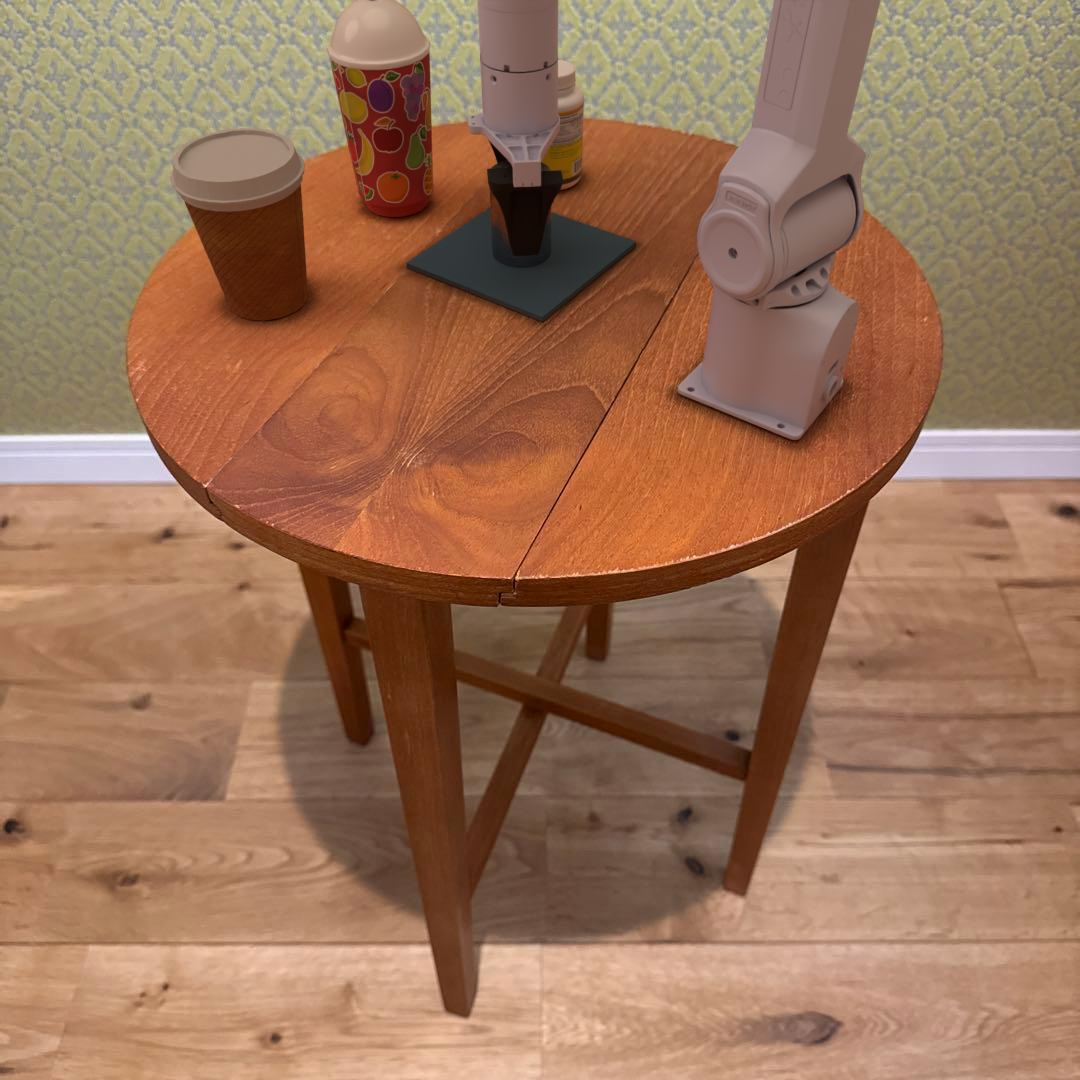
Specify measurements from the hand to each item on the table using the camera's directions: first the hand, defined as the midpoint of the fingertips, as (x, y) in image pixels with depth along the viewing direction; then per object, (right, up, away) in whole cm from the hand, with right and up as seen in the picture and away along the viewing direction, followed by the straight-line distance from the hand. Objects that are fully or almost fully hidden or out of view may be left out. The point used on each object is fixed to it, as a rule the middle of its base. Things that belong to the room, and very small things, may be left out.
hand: (522, 229), depth 81 cm
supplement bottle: (+3, +8, +12) cm, 15 cm away
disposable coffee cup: (-20, -6, -2) cm, 22 cm away
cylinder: (0, -1, +1) cm, 2 cm away
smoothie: (-12, +5, +9) cm, 15 cm away
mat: (0, -2, +2) cm, 3 cm away
